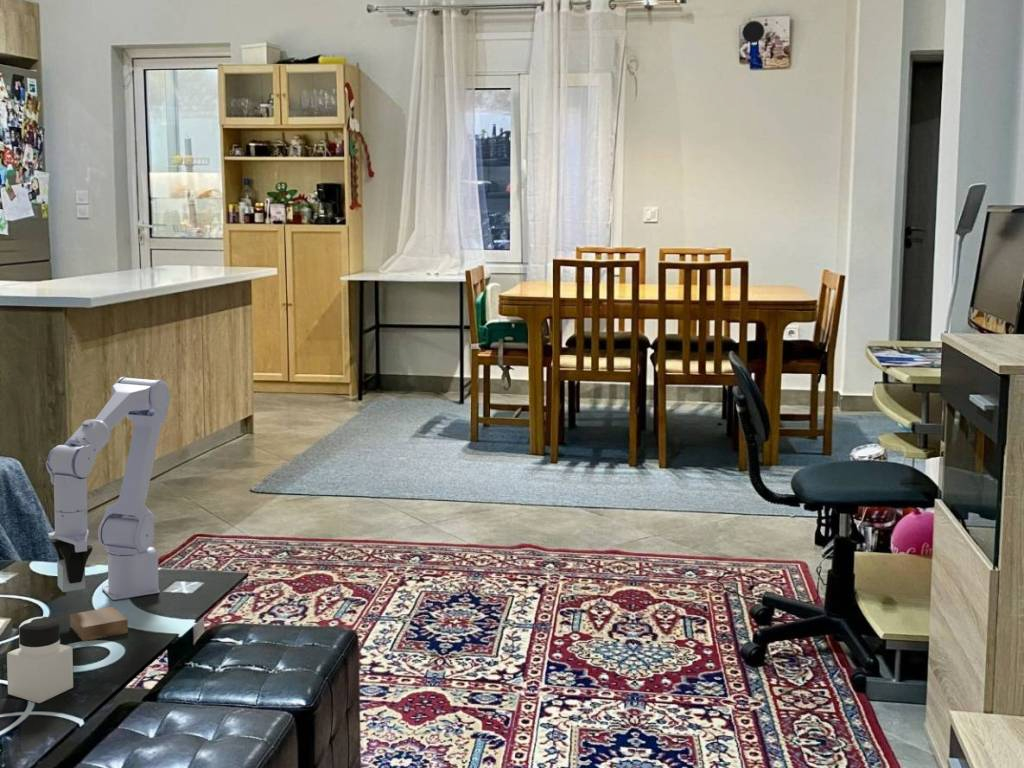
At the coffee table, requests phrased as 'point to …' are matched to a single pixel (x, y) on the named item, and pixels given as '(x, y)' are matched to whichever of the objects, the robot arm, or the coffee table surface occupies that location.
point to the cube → (63, 579)
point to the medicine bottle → (39, 662)
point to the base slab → (98, 623)
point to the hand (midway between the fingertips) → (72, 578)
